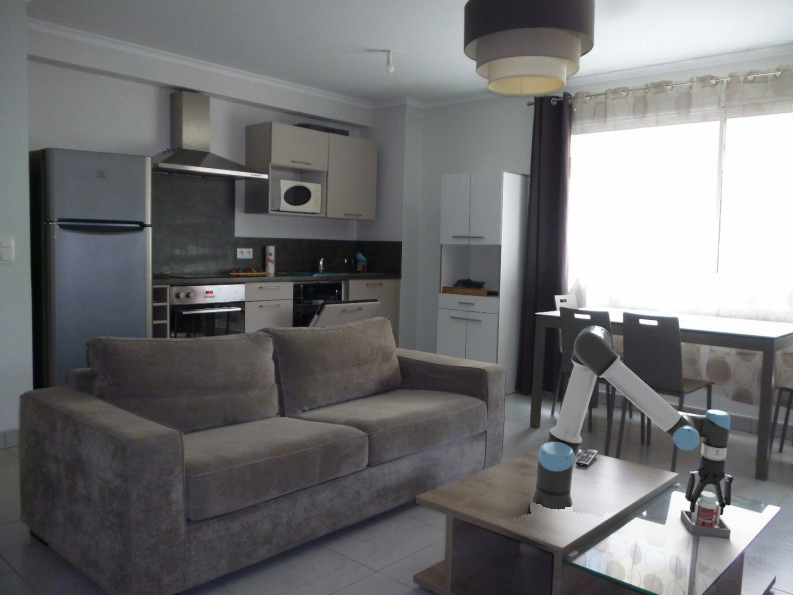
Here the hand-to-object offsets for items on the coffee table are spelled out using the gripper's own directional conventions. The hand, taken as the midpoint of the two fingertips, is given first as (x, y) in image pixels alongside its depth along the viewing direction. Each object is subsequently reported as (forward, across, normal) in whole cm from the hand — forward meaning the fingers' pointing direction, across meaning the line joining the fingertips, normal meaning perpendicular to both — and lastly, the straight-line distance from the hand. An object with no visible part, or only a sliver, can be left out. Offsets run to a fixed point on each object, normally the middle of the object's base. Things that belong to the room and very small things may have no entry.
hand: (704, 522), depth 221 cm
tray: (+2, 0, 0) cm, 2 cm away
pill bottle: (+2, 0, 0) cm, 2 cm away
